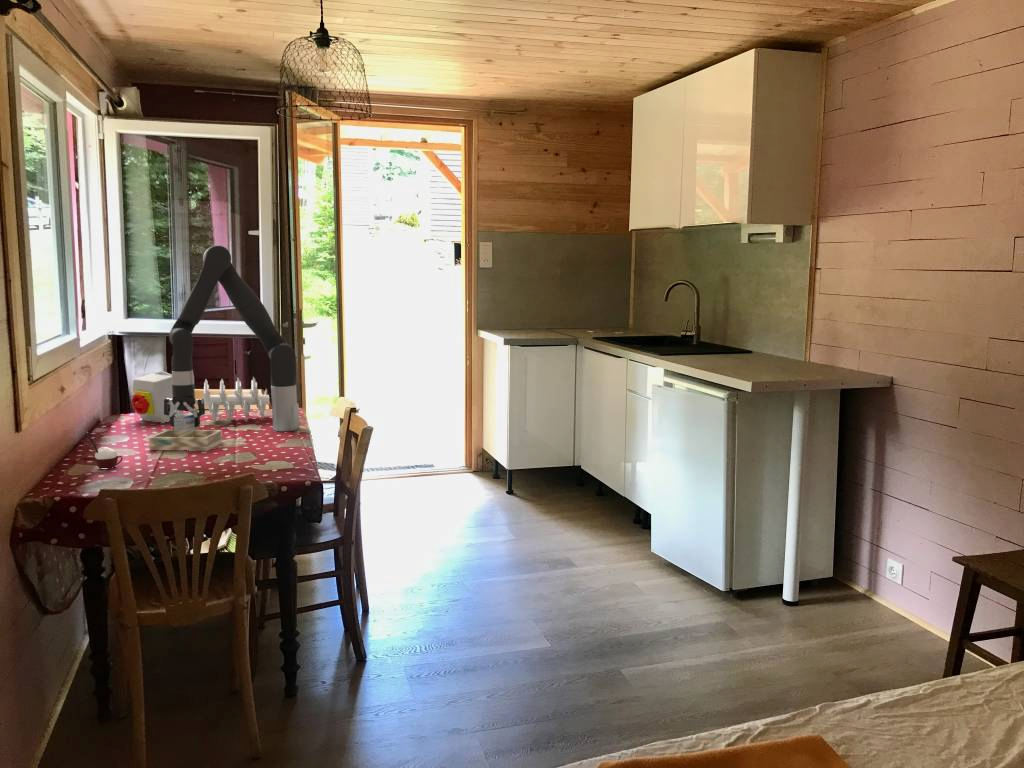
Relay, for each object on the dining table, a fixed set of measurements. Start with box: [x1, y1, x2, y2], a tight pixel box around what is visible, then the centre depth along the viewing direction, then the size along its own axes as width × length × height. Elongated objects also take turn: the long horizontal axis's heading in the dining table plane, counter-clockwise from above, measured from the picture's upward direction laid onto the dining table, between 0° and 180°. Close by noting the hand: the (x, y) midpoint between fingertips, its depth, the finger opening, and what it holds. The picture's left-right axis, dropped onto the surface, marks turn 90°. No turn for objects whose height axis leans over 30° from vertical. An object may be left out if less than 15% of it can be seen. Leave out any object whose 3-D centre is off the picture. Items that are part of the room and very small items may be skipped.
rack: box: [148, 429, 223, 452], centre depth 280 cm, size 20×13×4 cm, turn 87°
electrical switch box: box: [131, 371, 184, 424], centre depth 323 cm, size 15×15×20 cm
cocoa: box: [85, 431, 124, 469], centre depth 250 cm, size 10×6×12 cm, turn 104°
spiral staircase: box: [203, 376, 270, 424], centre depth 324 cm, size 18×18×25 cm
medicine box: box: [173, 412, 199, 430], centre depth 293 cm, size 8×4×9 cm, turn 168°
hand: (185, 426), depth 293 cm, fingers open, 8 cm apart
